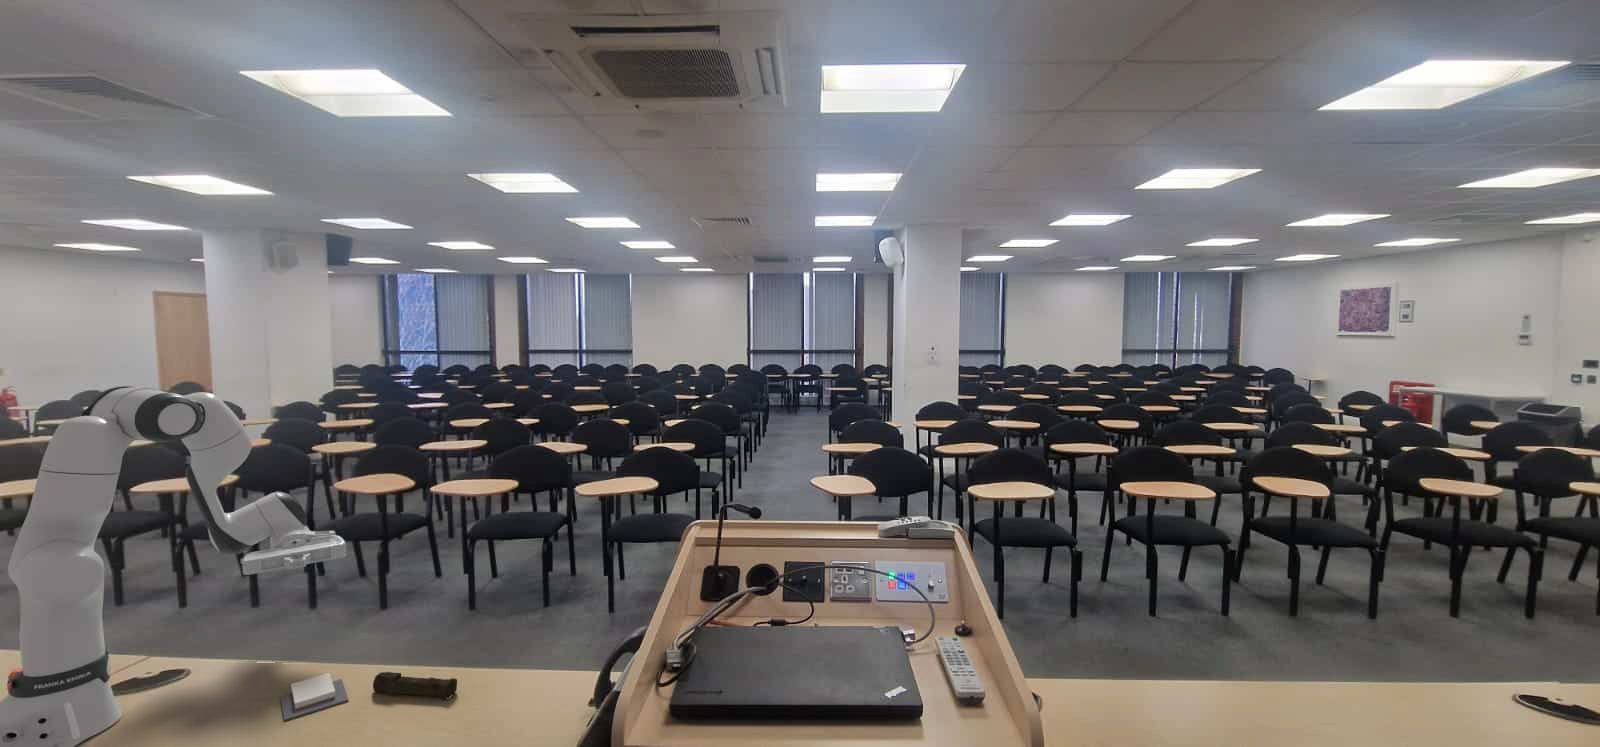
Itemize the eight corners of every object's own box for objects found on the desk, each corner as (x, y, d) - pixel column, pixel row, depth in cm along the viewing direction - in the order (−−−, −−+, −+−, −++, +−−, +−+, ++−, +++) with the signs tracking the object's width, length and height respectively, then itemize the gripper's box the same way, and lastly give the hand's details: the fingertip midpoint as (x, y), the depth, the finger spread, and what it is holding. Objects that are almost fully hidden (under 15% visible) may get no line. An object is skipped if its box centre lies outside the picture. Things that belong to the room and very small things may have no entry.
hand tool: (459, 692, 146) (458, 672, 146) (447, 702, 142) (446, 682, 142) (383, 686, 149) (382, 666, 149) (369, 695, 145) (368, 675, 145)
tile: (291, 690, 146) (295, 710, 138) (291, 684, 146) (294, 703, 138) (329, 679, 151) (335, 697, 143) (329, 672, 150) (335, 691, 143)
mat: (284, 721, 135) (284, 719, 135) (280, 698, 143) (280, 697, 143) (348, 701, 142) (348, 699, 142) (341, 680, 151) (341, 678, 151)
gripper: (239, 545, 159) (240, 561, 149) (341, 529, 172) (348, 542, 162) (240, 571, 160) (241, 588, 149) (342, 552, 173) (349, 567, 163)
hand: (298, 564), depth 156 cm, fingers closed
